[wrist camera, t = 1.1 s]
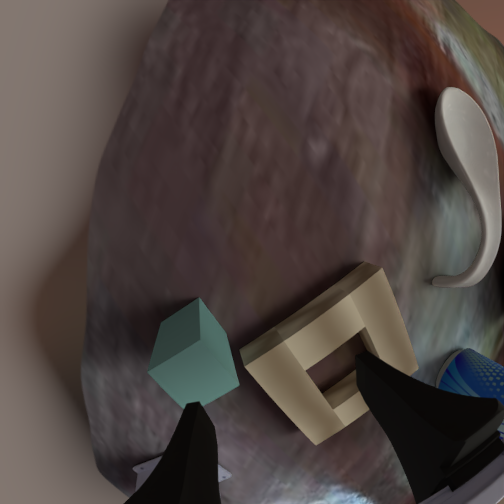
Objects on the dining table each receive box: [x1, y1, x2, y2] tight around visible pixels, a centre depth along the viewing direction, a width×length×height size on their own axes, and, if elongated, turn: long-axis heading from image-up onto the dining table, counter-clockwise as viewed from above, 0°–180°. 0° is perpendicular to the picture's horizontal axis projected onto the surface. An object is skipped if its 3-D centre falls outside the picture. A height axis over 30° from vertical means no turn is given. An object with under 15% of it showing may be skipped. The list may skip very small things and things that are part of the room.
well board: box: [239, 262, 418, 445], centre depth 25 cm, size 14×14×3 cm
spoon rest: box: [432, 87, 502, 288], centre depth 23 cm, size 24×12×7 cm, turn 176°
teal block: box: [147, 298, 239, 409], centre depth 19 cm, size 4×4×8 cm
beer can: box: [436, 348, 504, 440], centre depth 24 cm, size 8×8×16 cm
